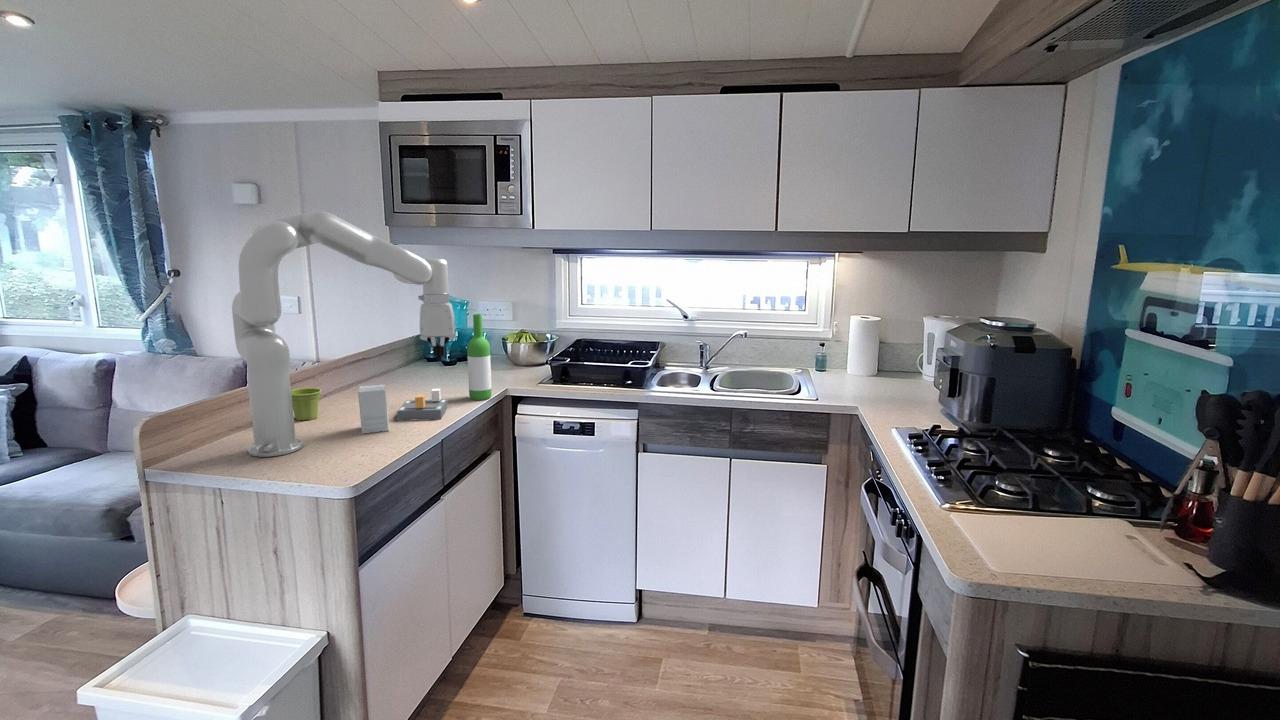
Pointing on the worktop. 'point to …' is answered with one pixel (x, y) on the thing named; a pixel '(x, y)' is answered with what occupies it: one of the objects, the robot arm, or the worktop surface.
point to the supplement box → (373, 408)
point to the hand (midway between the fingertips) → (439, 358)
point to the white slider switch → (436, 394)
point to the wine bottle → (479, 363)
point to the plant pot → (305, 403)
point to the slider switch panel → (422, 410)
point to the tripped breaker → (420, 401)
